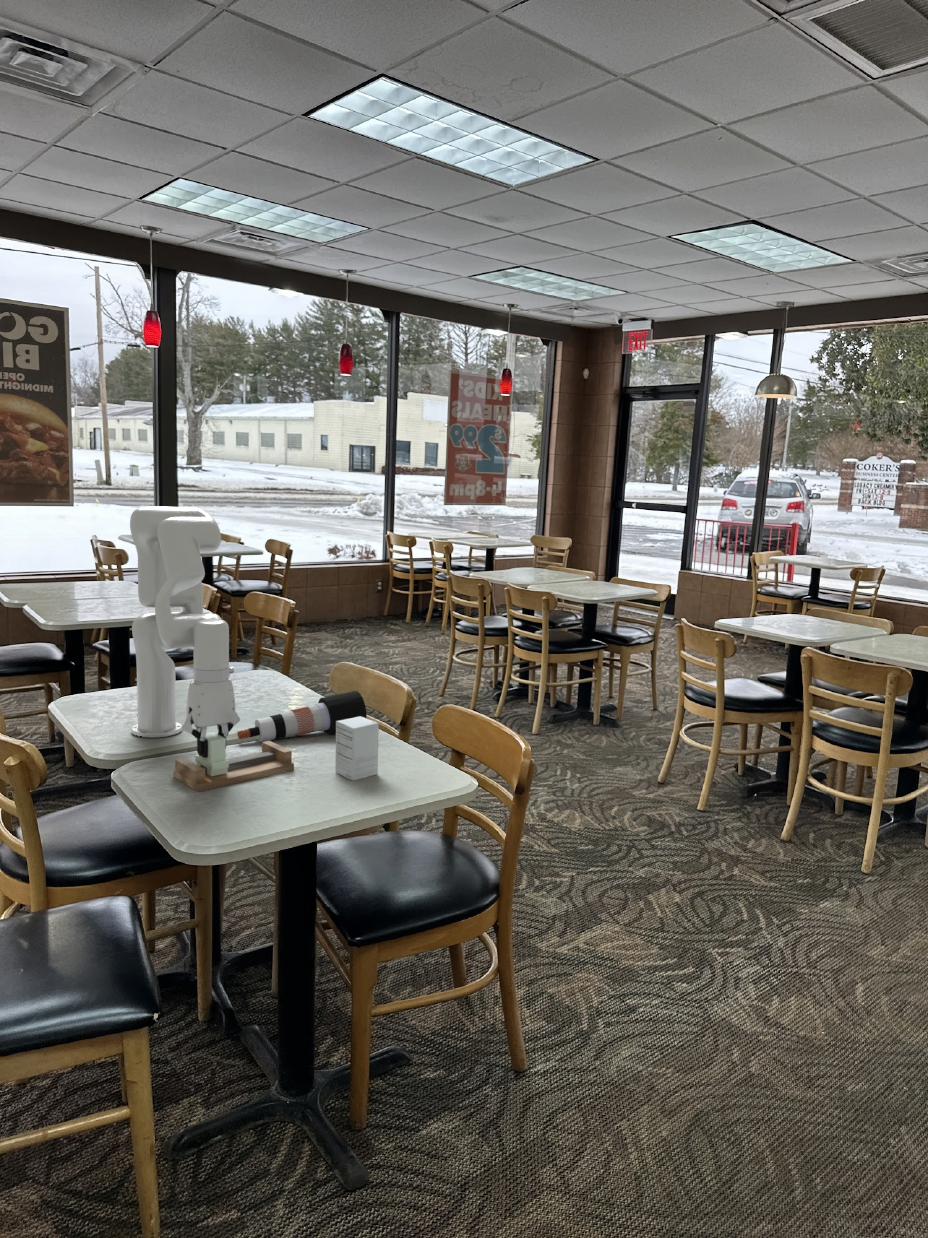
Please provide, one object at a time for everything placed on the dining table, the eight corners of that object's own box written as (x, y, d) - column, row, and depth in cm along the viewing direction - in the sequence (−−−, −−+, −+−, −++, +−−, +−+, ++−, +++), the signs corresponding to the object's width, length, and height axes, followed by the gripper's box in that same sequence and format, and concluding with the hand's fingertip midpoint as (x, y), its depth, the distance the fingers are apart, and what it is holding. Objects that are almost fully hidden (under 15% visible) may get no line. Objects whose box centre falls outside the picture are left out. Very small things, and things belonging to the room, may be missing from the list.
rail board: (173, 776, 194) (173, 758, 193) (266, 756, 211) (267, 739, 210) (198, 791, 186) (198, 772, 185) (293, 769, 202) (294, 752, 201)
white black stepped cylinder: (238, 757, 223) (230, 720, 225) (357, 729, 239) (348, 695, 241) (247, 750, 214) (238, 712, 216) (369, 722, 231) (360, 686, 233)
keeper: (195, 767, 195) (195, 733, 194) (211, 764, 198) (211, 730, 197) (212, 777, 190) (212, 742, 188) (228, 773, 192) (228, 739, 191)
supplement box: (359, 766, 206) (361, 715, 204) (378, 775, 201) (379, 722, 199) (334, 772, 201) (335, 720, 199) (352, 781, 196) (353, 727, 194)
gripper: (236, 667, 199) (236, 743, 202) (168, 676, 187) (169, 757, 190) (253, 673, 193) (253, 752, 196) (184, 683, 182) (184, 766, 185)
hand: (211, 753), depth 193 cm, fingers closed on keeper, 3 cm apart
